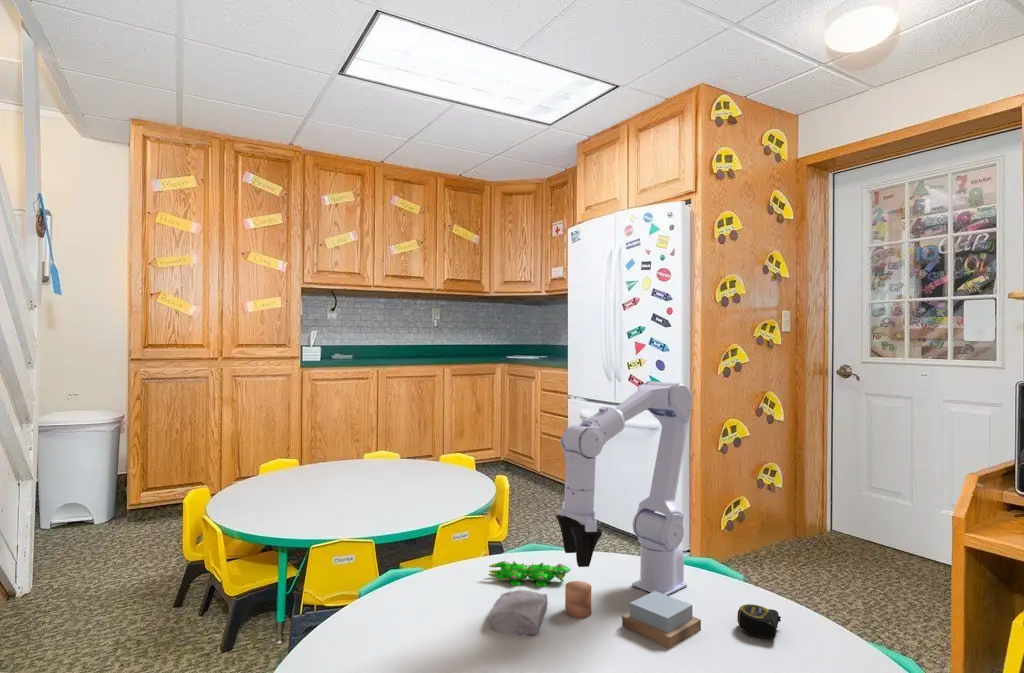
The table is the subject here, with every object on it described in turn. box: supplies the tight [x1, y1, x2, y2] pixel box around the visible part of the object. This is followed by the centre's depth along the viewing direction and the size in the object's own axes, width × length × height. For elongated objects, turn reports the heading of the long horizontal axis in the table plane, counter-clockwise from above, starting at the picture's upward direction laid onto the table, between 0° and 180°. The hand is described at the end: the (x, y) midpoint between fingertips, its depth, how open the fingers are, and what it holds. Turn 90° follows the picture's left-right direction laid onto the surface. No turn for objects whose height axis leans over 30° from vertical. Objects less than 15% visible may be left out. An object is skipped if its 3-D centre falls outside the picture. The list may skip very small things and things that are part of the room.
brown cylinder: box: [564, 580, 592, 620], centre depth 108 cm, size 5×5×5 cm
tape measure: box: [736, 603, 782, 639], centre depth 101 cm, size 7×7×4 cm
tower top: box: [629, 591, 693, 633], centre depth 102 cm, size 8×8×2 cm
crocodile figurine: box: [488, 560, 572, 587], centre depth 122 cm, size 7×18×4 cm, turn 86°
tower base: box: [621, 612, 702, 649], centre depth 102 cm, size 10×10×2 cm
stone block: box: [489, 589, 549, 636], centre depth 105 cm, size 12×5×10 cm
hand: (576, 559), depth 107 cm, fingers open, 7 cm apart
